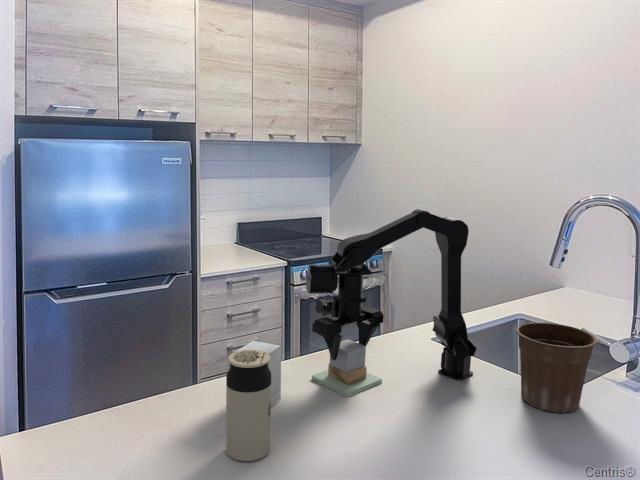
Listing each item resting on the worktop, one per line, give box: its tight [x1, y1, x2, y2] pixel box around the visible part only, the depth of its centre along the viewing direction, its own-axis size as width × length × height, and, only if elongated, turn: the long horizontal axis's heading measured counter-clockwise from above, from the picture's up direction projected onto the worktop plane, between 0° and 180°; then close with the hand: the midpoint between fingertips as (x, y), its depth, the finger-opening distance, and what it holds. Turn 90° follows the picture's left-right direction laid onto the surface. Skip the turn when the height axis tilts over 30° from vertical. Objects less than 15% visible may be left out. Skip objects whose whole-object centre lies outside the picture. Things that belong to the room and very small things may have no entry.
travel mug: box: [225, 350, 272, 462], centre depth 93 cm, size 8×8×18 cm
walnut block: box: [327, 362, 368, 385], centre depth 124 cm, size 7×6×3 cm
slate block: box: [329, 339, 367, 372], centre depth 124 cm, size 6×6×5 cm
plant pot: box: [516, 322, 597, 414], centre depth 116 cm, size 16×16×16 cm
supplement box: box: [235, 340, 282, 408], centre depth 111 cm, size 7×7×13 cm
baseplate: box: [311, 369, 383, 398], centre depth 125 cm, size 12×12×1 cm
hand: (347, 355), depth 124 cm, fingers open, 9 cm apart
